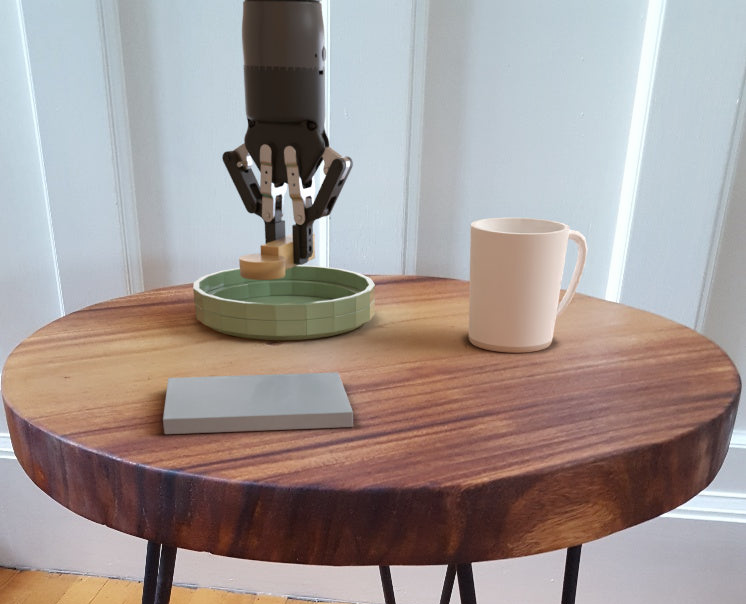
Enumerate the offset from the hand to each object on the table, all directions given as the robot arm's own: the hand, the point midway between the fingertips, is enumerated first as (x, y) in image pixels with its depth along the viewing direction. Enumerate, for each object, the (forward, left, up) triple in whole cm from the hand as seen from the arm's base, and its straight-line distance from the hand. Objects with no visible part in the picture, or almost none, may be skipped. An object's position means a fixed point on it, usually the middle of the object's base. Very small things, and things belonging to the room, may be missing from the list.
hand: (289, 261), depth 97 cm
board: (-5, -30, -5) cm, 31 cm away
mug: (+21, -13, -5) cm, 25 cm away
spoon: (-1, -2, 0) cm, 2 cm away
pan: (-1, -2, -5) cm, 6 cm away
